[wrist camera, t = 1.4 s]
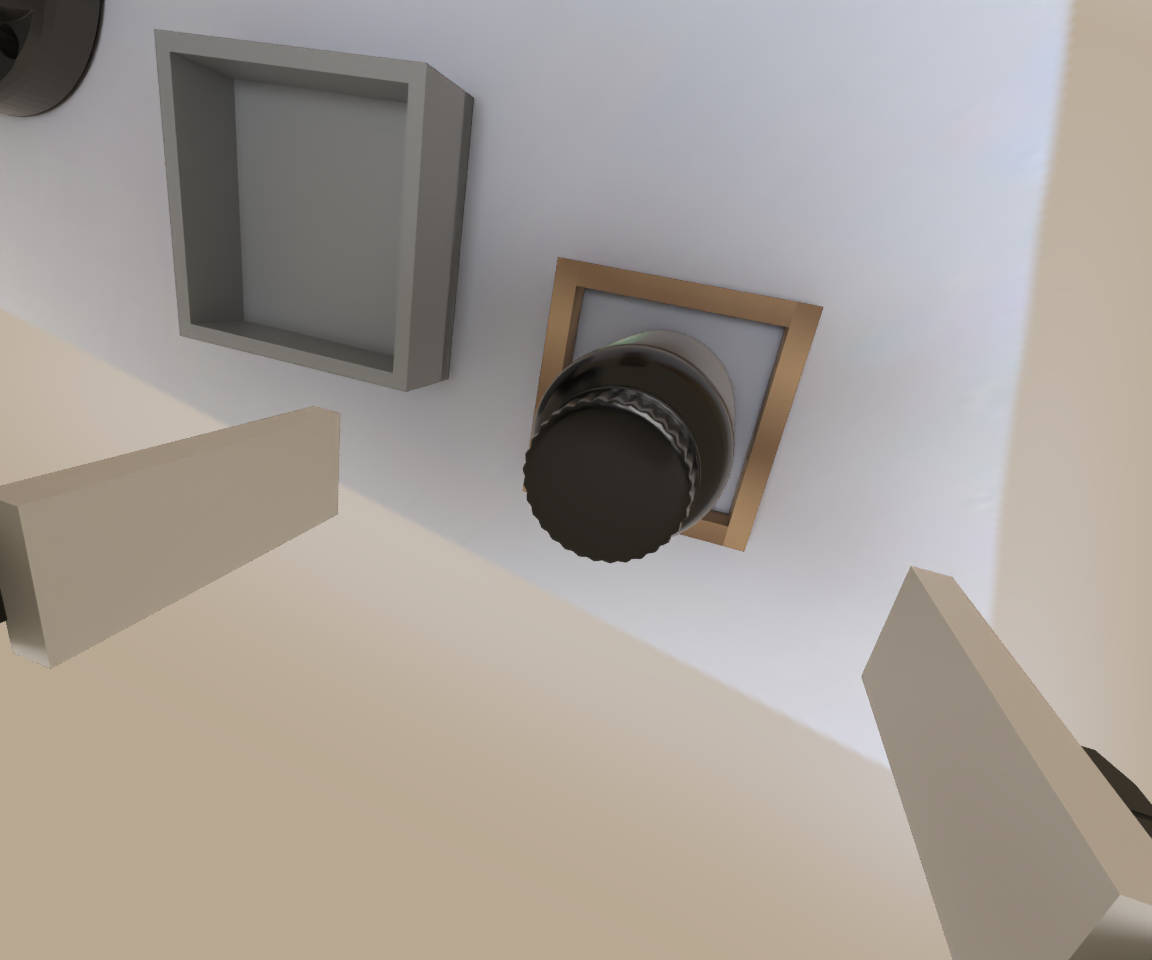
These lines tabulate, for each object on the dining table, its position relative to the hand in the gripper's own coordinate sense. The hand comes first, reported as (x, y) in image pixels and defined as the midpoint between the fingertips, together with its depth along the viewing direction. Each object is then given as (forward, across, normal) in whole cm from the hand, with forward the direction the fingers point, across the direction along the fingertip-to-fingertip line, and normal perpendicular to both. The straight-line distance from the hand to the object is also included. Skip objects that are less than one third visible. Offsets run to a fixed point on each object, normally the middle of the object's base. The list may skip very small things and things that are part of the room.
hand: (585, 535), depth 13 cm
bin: (+15, -17, +5) cm, 23 cm away
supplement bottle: (+15, 0, 0) cm, 15 cm away
